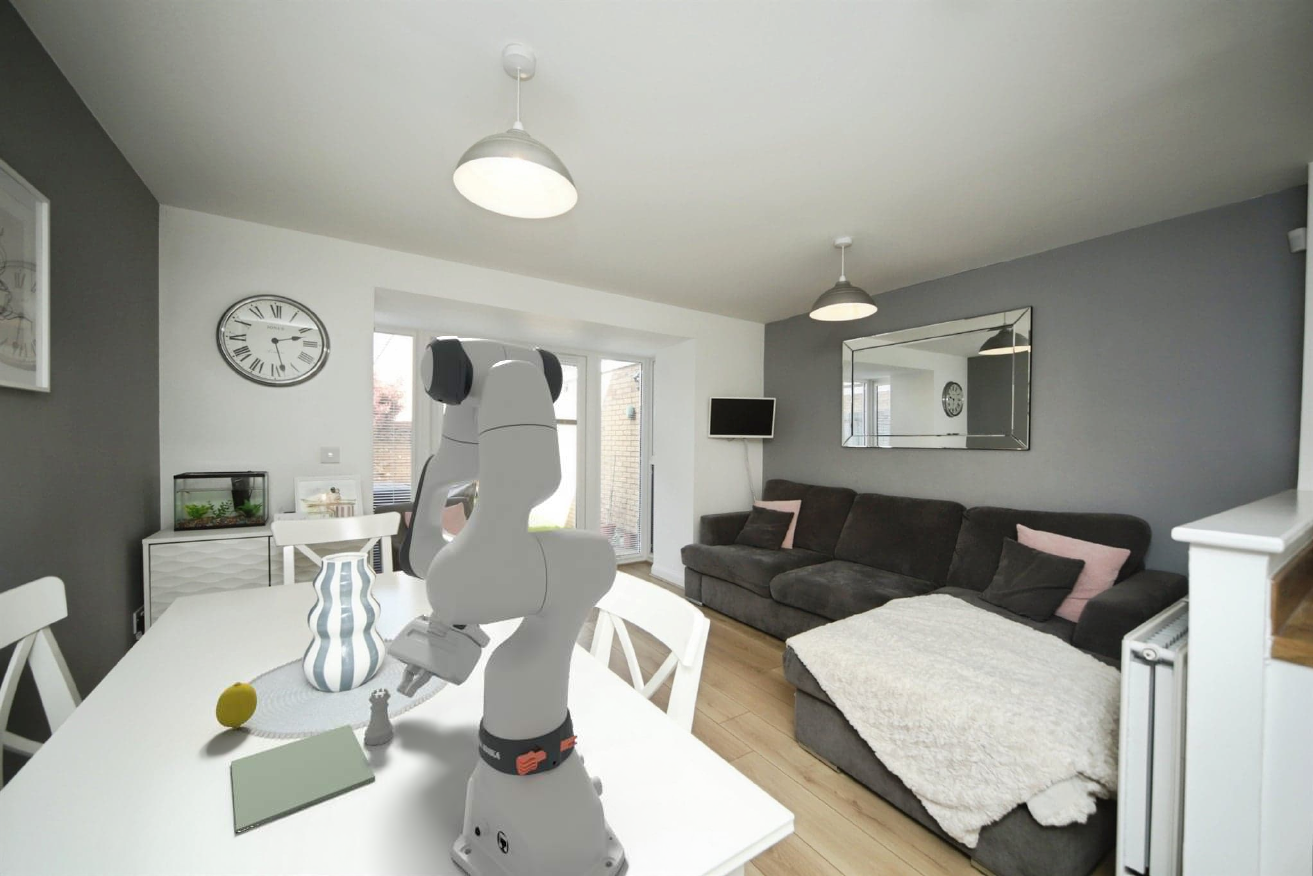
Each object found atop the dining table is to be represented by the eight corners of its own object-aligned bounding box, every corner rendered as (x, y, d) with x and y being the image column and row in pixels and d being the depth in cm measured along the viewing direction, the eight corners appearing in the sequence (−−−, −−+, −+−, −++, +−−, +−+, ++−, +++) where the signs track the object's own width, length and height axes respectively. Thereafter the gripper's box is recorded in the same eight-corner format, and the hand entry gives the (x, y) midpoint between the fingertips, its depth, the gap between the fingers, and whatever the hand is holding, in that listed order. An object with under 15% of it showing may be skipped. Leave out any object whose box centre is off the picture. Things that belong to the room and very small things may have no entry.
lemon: (232, 739, 84) (234, 692, 84) (206, 735, 85) (207, 688, 85) (264, 722, 90) (265, 677, 90) (239, 717, 91) (240, 673, 91)
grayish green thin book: (375, 779, 75) (375, 776, 75) (236, 833, 64) (236, 829, 64) (349, 727, 88) (349, 724, 88) (231, 764, 78) (231, 761, 78)
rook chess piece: (372, 750, 82) (373, 701, 82) (358, 740, 85) (359, 693, 85) (398, 736, 86) (400, 690, 86) (384, 728, 88) (385, 683, 88)
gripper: (410, 604, 101) (358, 671, 92) (477, 625, 90) (427, 703, 82) (429, 620, 105) (382, 686, 96) (496, 642, 94) (450, 718, 86)
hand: (403, 694), depth 89 cm, fingers closed
